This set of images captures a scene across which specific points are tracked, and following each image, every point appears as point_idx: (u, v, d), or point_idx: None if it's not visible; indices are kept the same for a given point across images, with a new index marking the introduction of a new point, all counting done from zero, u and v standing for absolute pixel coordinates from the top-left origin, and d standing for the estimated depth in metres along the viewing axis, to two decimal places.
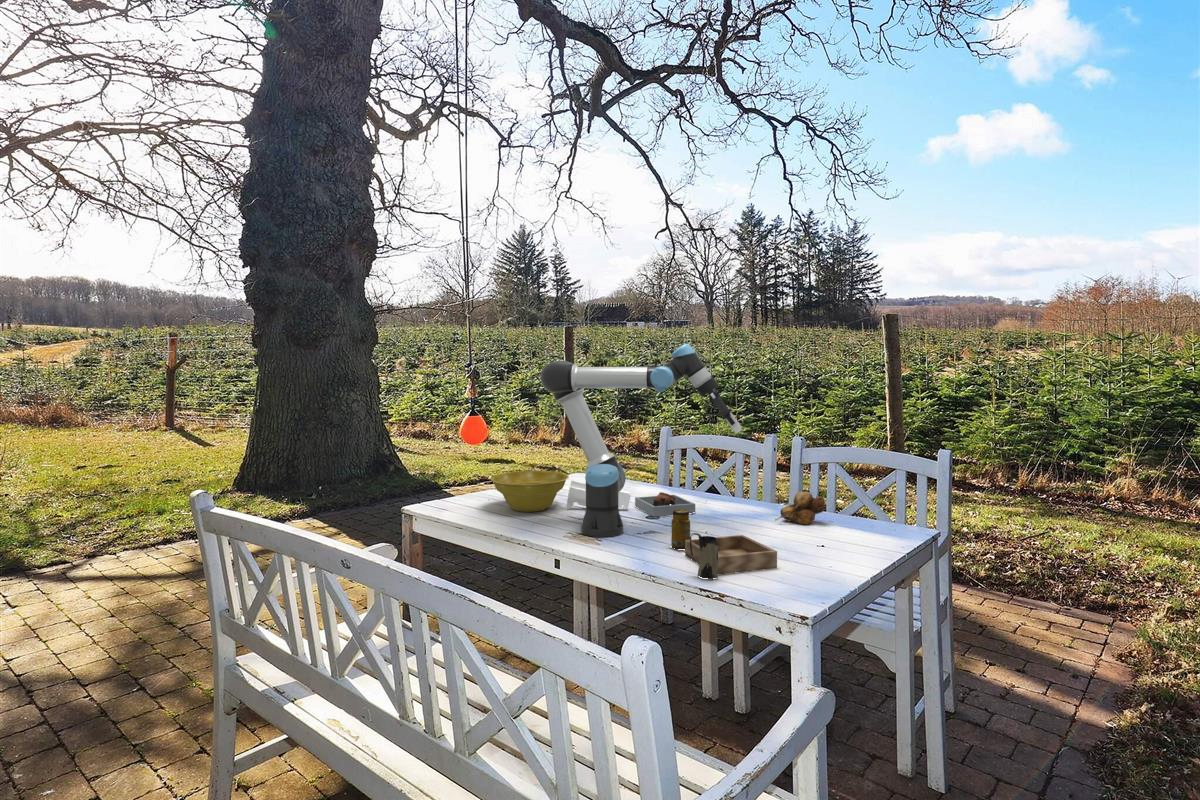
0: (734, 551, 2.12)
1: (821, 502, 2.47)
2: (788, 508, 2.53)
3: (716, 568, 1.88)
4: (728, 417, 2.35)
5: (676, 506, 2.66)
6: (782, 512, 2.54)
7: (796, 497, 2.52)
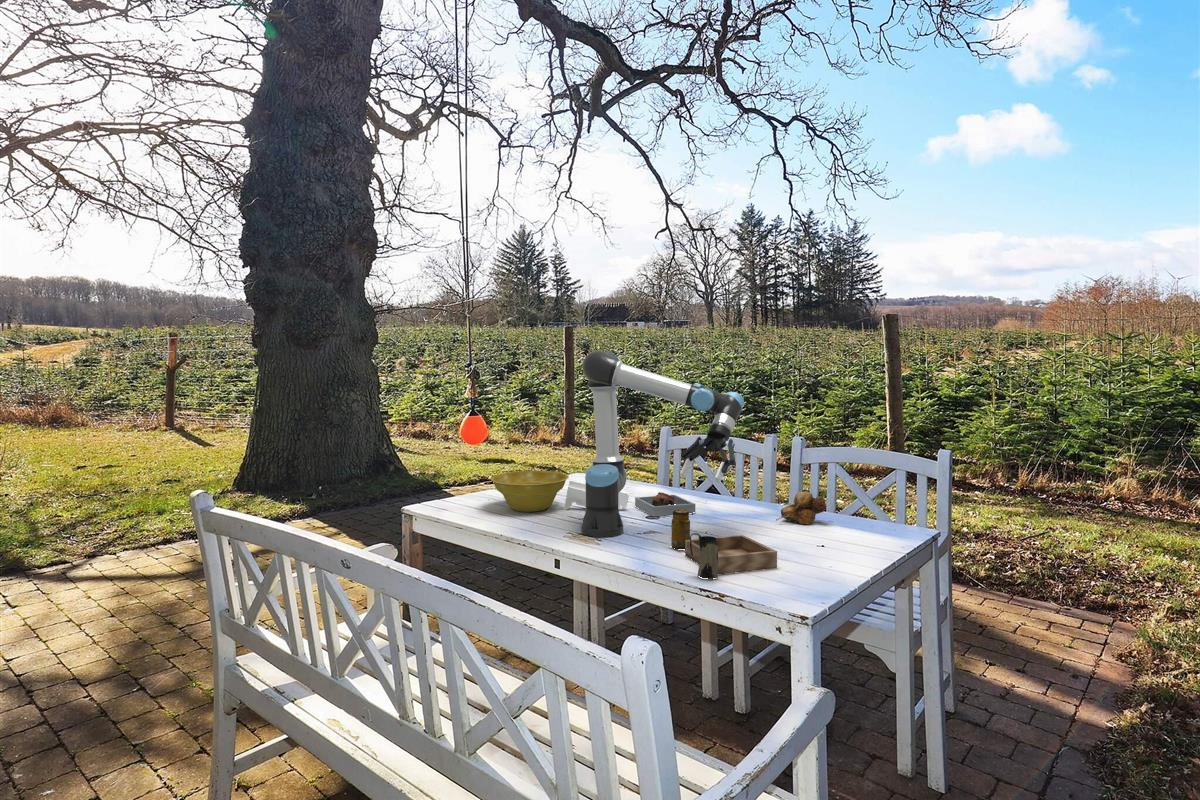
0: (734, 551, 2.12)
1: (822, 502, 2.48)
2: (788, 508, 2.53)
3: (716, 568, 1.88)
4: (728, 465, 2.25)
5: (676, 506, 2.66)
6: (782, 512, 2.54)
7: (796, 497, 2.53)
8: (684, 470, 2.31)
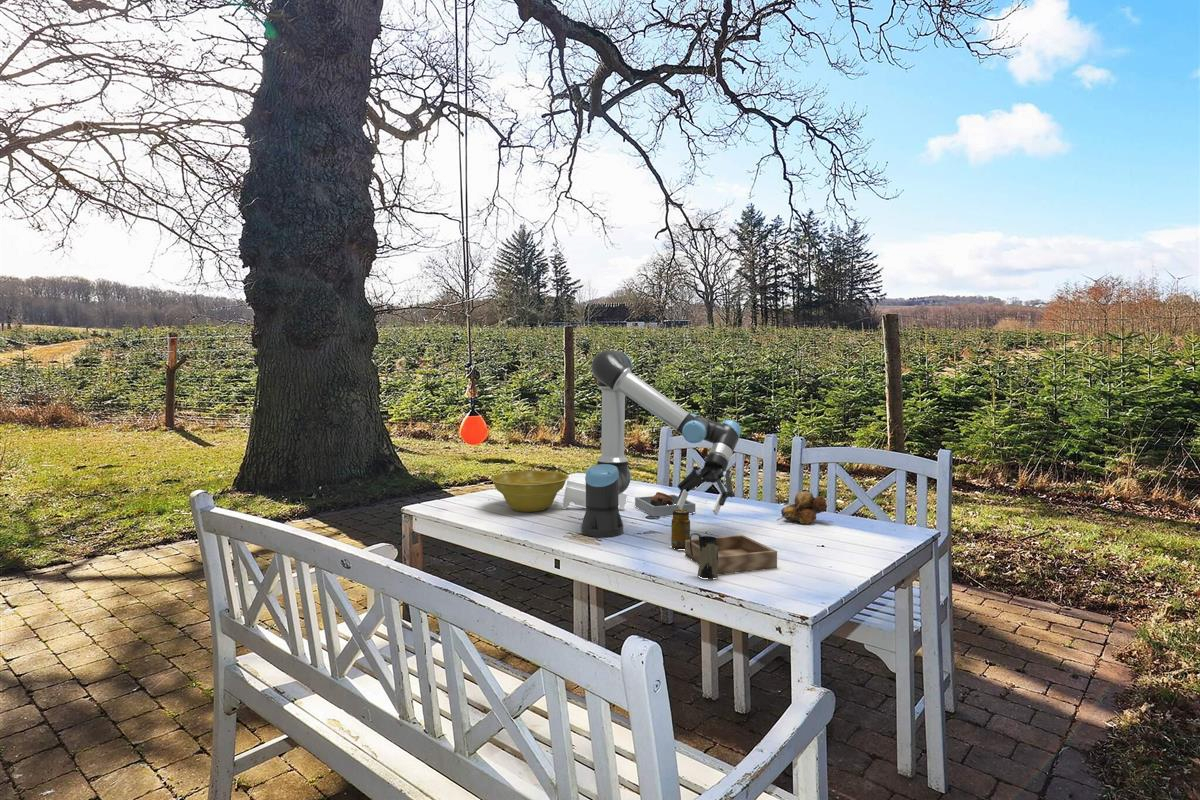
0: (734, 551, 2.12)
1: (822, 501, 2.48)
2: (789, 508, 2.54)
3: (716, 568, 1.88)
4: (725, 497, 2.22)
5: (676, 506, 2.66)
6: (783, 512, 2.54)
7: (797, 497, 2.53)
8: (681, 501, 2.28)
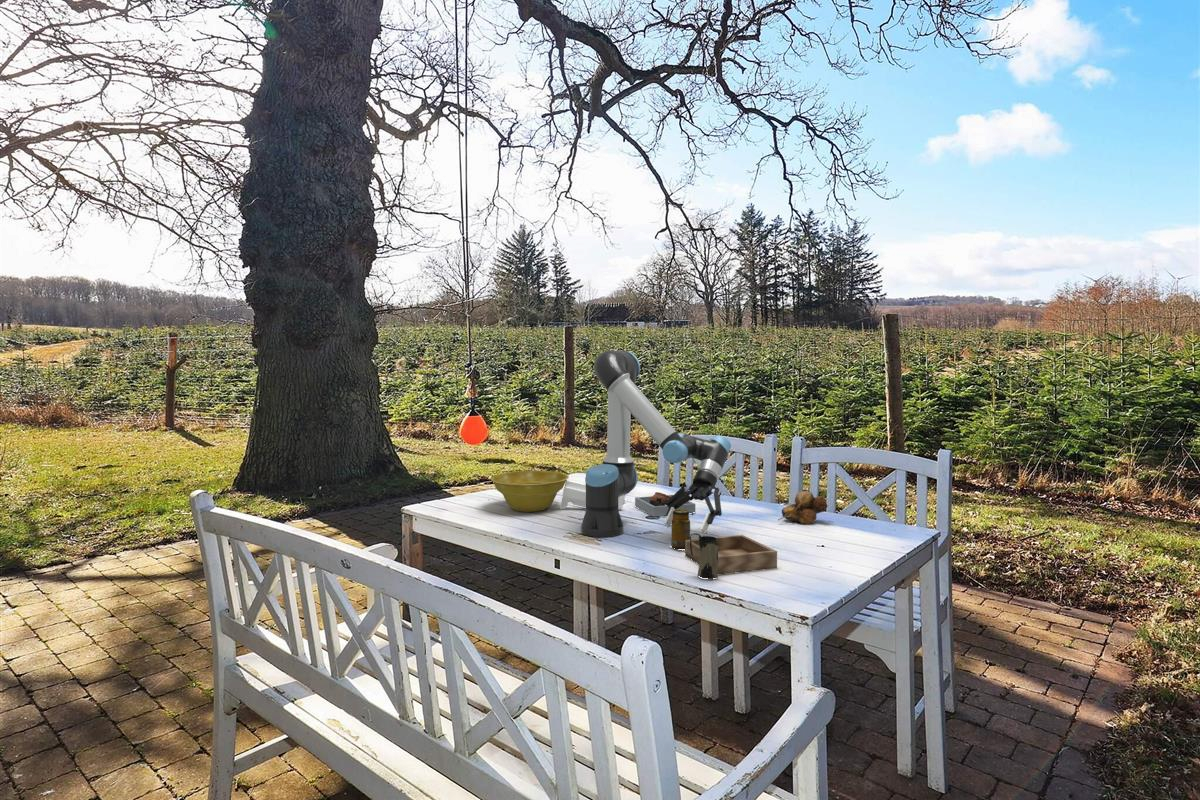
0: (734, 551, 2.12)
1: (823, 501, 2.48)
2: (790, 508, 2.54)
3: (716, 568, 1.88)
4: (713, 515, 2.17)
5: None
6: (784, 512, 2.54)
7: (798, 497, 2.53)
8: (669, 519, 2.23)
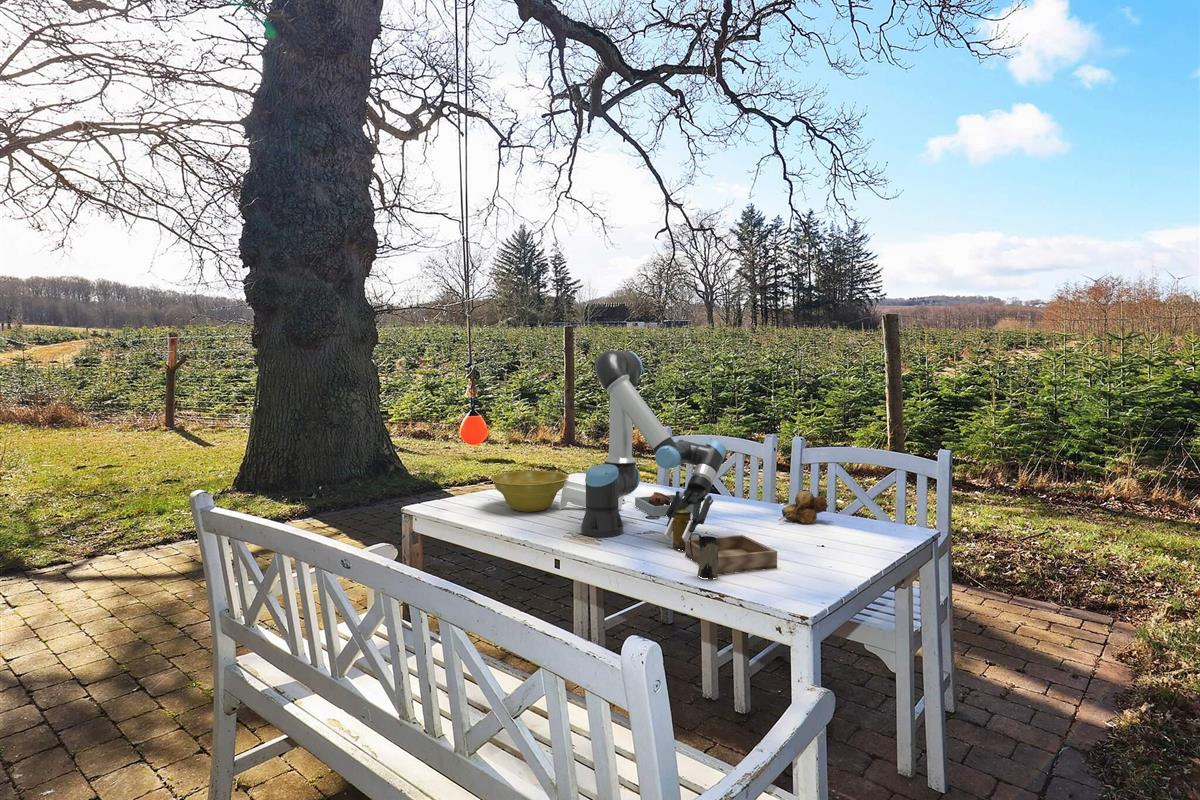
0: (734, 551, 2.12)
1: (823, 501, 2.49)
2: (790, 508, 2.54)
3: (716, 568, 1.88)
4: (695, 524, 2.17)
5: None
6: (784, 512, 2.55)
7: (798, 497, 2.53)
8: (669, 530, 2.19)
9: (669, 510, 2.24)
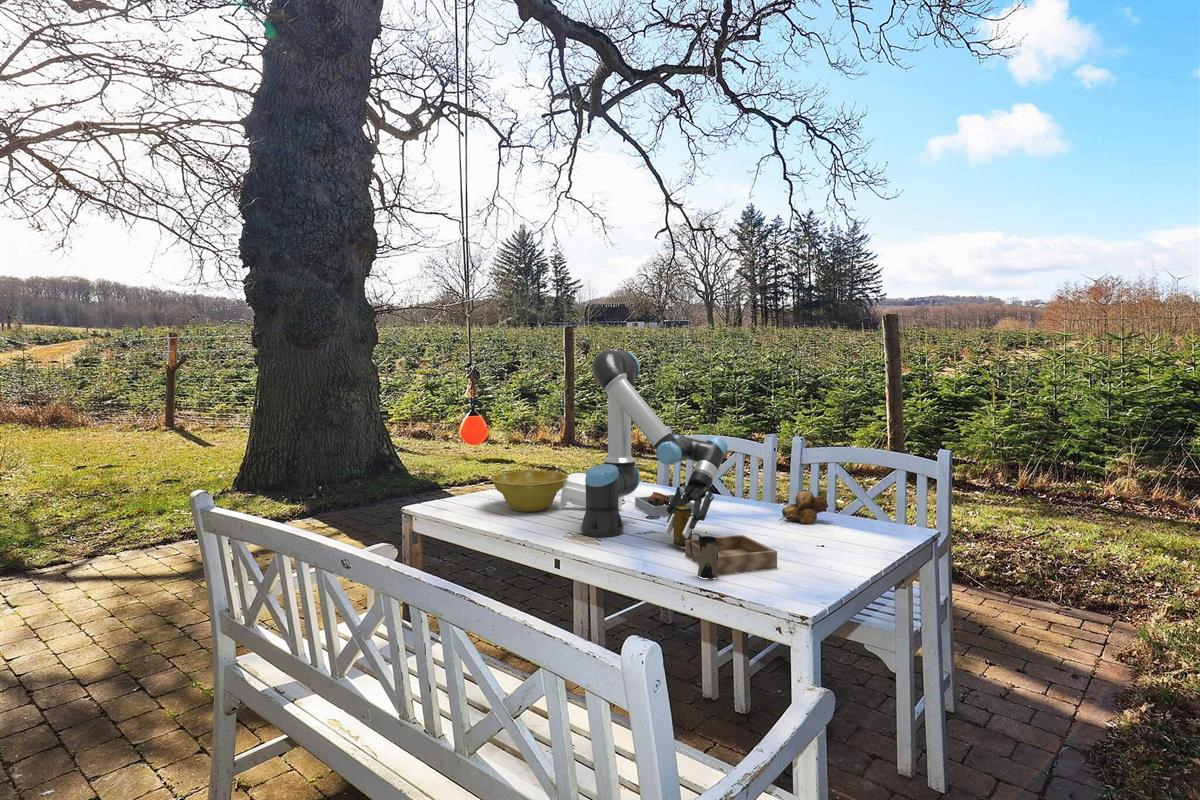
0: (734, 551, 2.12)
1: (824, 501, 2.49)
2: (790, 508, 2.54)
3: (716, 568, 1.88)
4: (696, 520, 2.17)
5: None
6: (784, 512, 2.55)
7: (798, 497, 2.53)
8: (669, 526, 2.19)
9: (670, 506, 2.24)
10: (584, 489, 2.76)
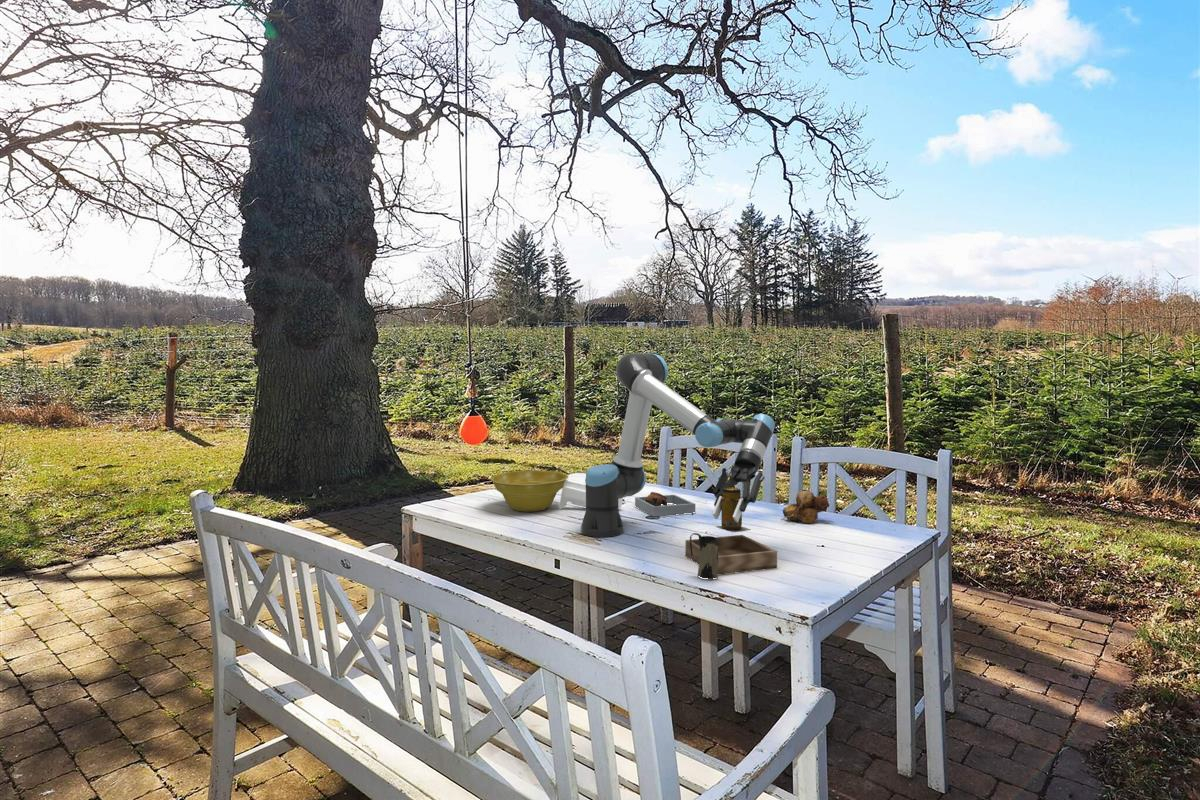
0: (734, 551, 2.12)
1: (825, 500, 2.50)
2: (791, 508, 2.54)
3: (716, 568, 1.88)
4: (747, 502, 2.00)
5: (676, 506, 2.66)
6: (785, 512, 2.55)
7: (799, 496, 2.54)
8: (717, 510, 2.02)
9: (716, 488, 2.08)
10: (584, 489, 2.76)
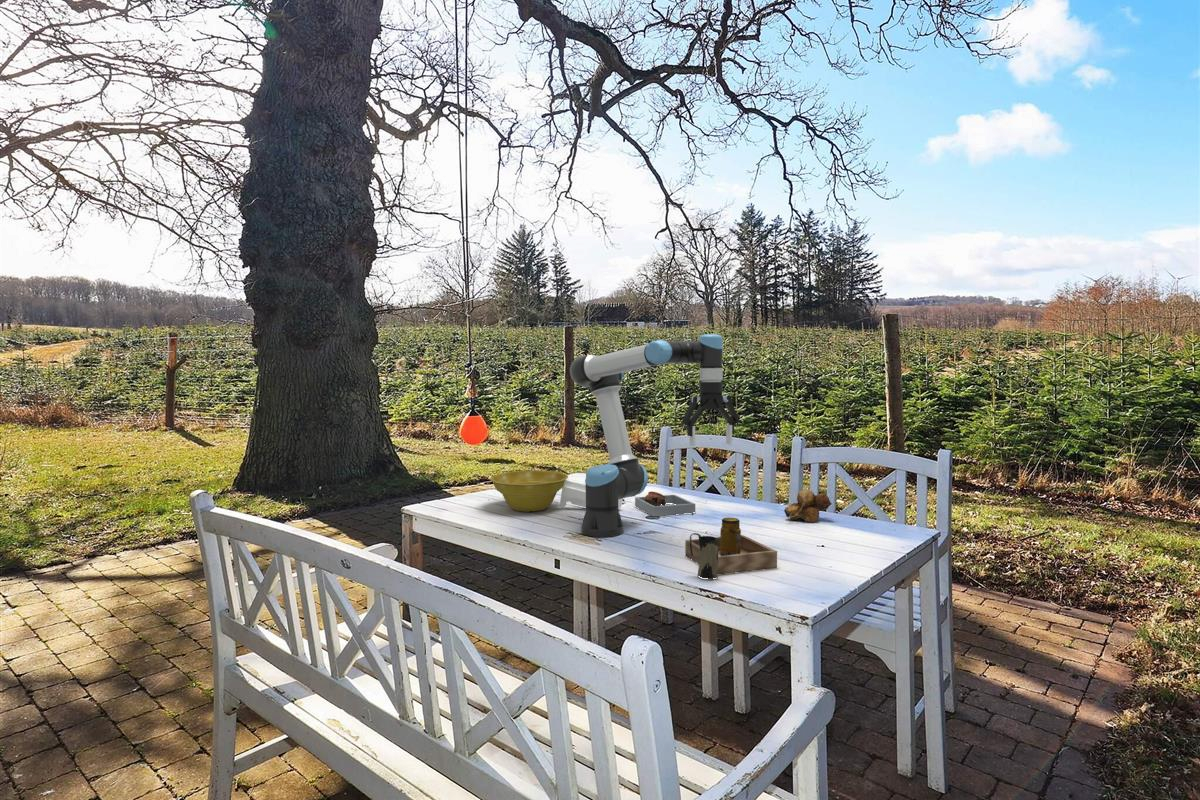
0: None
1: (826, 499, 2.53)
2: (793, 507, 2.55)
3: (716, 568, 1.88)
4: None
5: (676, 506, 2.66)
6: (787, 511, 2.55)
7: (801, 496, 2.55)
8: None
9: (688, 419, 2.20)
10: (584, 489, 2.76)
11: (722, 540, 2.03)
